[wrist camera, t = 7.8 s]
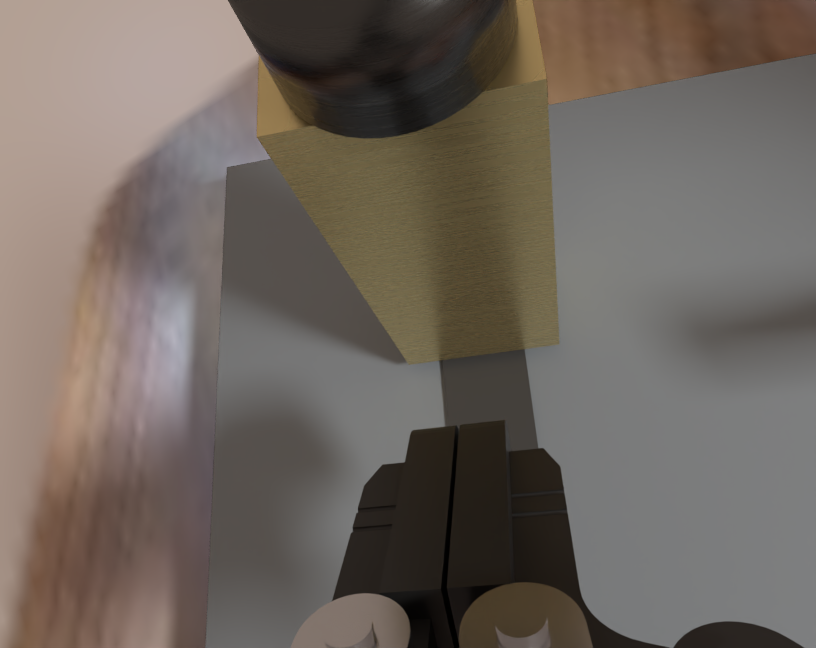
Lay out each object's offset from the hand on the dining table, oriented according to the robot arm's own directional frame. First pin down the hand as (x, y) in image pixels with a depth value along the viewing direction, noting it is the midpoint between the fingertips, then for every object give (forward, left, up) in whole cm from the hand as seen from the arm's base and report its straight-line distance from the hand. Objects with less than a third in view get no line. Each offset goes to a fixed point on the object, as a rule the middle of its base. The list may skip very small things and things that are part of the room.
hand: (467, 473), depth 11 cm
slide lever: (-2, -4, -5) cm, 7 cm away
